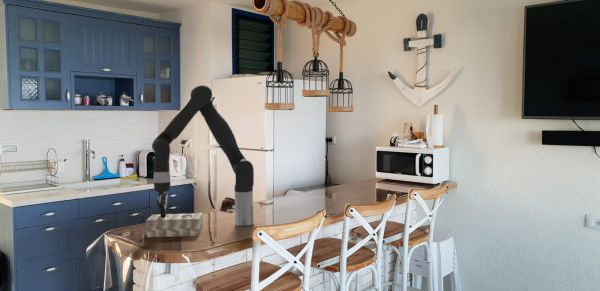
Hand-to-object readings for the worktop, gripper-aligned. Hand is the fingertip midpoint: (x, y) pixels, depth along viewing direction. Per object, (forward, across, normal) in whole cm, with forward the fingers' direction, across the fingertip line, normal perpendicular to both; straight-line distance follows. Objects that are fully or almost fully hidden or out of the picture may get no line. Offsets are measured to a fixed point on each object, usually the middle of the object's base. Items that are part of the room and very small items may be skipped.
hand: (163, 216), depth 227 cm
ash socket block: (+8, 0, -6) cm, 10 cm away
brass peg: (+8, 0, 0) cm, 8 cm away
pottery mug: (+8, +52, -26) cm, 59 cm away
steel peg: (+8, 0, -11) cm, 14 cm away
